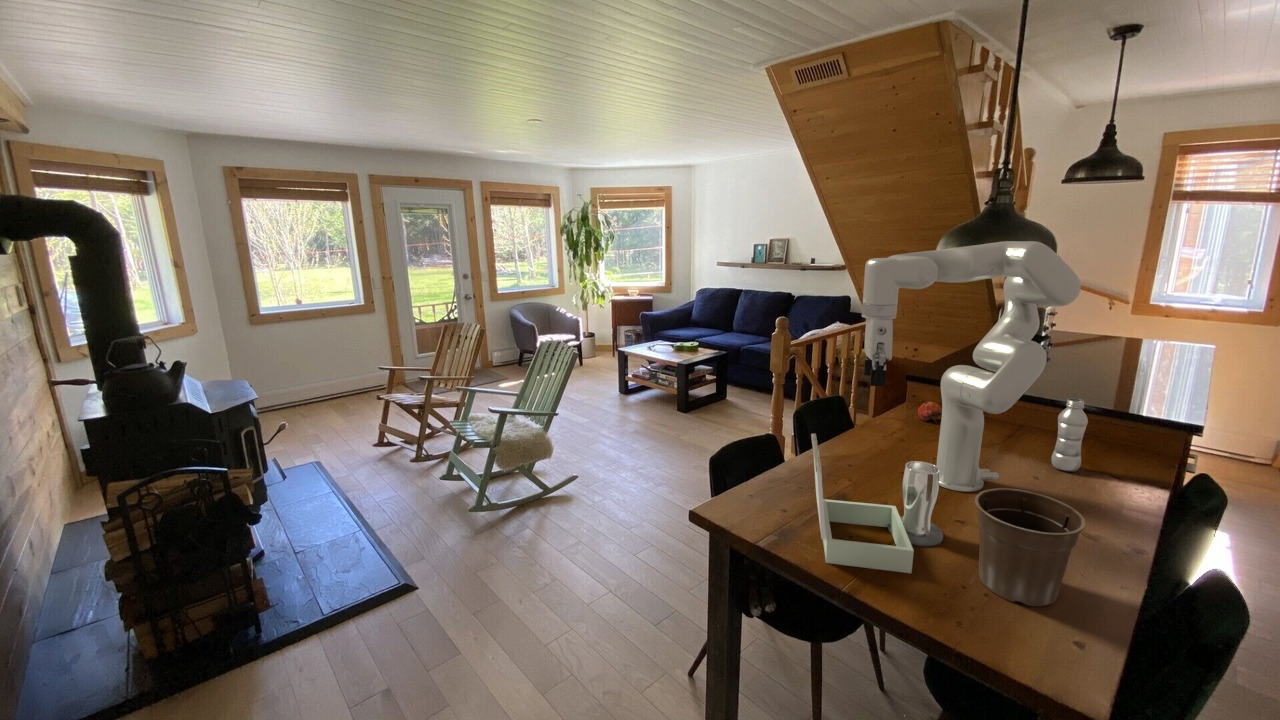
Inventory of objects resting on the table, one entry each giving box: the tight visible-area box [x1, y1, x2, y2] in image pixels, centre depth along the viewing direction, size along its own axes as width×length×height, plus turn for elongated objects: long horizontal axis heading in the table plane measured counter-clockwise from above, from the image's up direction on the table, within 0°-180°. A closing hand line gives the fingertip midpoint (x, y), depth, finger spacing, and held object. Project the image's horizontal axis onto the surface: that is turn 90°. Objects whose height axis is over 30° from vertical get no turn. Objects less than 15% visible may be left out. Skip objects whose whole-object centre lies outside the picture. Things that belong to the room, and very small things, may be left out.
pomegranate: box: [917, 400, 942, 425], centre depth 186 cm, size 7×7×10 cm
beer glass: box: [902, 460, 940, 537], centre depth 117 cm, size 7×7×15 cm
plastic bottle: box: [1051, 397, 1089, 472], centre depth 145 cm, size 6×7×20 cm
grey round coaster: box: [887, 516, 944, 547], centre depth 119 cm, size 11×11×1 cm
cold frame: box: [822, 498, 915, 574], centre depth 115 cm, size 16×18×5 cm
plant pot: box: [974, 488, 1086, 607], centre depth 98 cm, size 16×16×16 cm
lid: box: [810, 433, 826, 541], centre depth 115 cm, size 16×18×1 cm
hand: (873, 380), depth 130 cm, fingers open, 9 cm apart
